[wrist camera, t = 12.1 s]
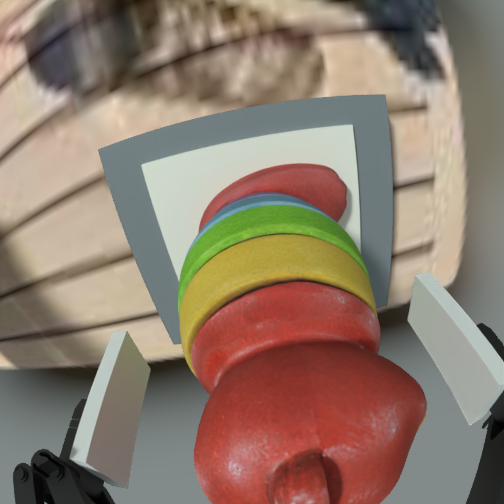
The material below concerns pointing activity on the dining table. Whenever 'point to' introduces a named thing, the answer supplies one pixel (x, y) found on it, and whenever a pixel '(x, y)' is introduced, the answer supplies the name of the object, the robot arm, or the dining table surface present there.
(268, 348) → the stacking bear
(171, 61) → the dining table surface
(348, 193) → the slate plinth
